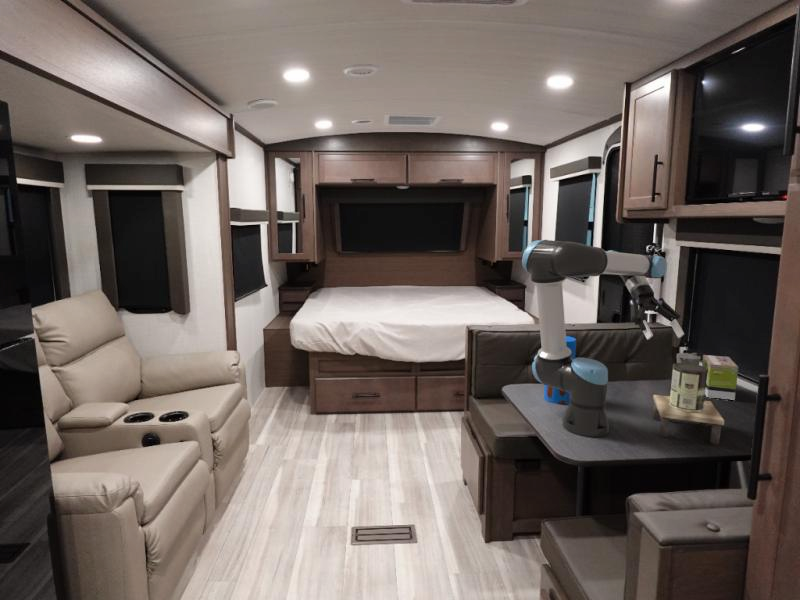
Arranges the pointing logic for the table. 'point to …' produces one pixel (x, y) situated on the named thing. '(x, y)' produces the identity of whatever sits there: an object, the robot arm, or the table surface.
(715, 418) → the small wooden table
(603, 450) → the table surface
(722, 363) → the tea box
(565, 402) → the thermos
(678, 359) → the coffeepot
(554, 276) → the robot arm
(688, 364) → the coffee can
